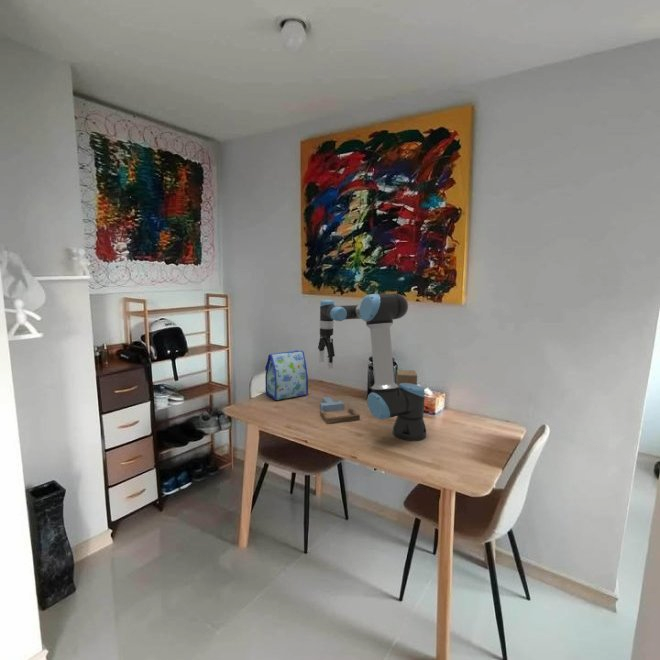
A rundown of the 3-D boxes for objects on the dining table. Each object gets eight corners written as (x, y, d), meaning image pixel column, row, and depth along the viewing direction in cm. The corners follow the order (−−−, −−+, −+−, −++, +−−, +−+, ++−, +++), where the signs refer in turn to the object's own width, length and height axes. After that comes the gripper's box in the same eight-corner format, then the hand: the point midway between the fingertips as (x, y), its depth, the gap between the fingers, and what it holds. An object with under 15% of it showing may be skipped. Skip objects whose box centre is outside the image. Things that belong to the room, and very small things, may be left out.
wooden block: (413, 405, 215) (415, 370, 212) (415, 411, 205) (417, 375, 202) (395, 404, 216) (396, 369, 213) (396, 410, 206) (398, 374, 203)
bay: (359, 420, 193) (359, 415, 192) (327, 424, 187) (327, 419, 187) (350, 411, 204) (351, 407, 203) (320, 415, 198) (320, 410, 198)
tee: (343, 409, 206) (343, 403, 206) (322, 412, 203) (322, 405, 202) (336, 402, 218) (336, 396, 217) (315, 404, 214) (315, 398, 213)
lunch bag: (295, 388, 241) (295, 347, 237) (309, 395, 228) (310, 352, 224) (263, 394, 229) (262, 351, 225) (275, 402, 216) (275, 357, 211)
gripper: (341, 331, 204) (340, 370, 208) (325, 324, 227) (324, 359, 231) (328, 332, 202) (327, 371, 206) (312, 324, 225) (312, 359, 228)
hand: (325, 365), depth 218 cm, fingers open, 13 cm apart
